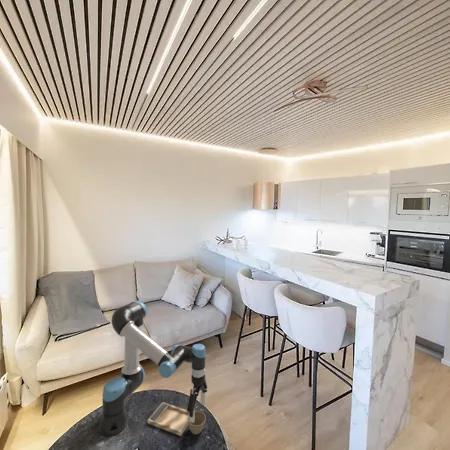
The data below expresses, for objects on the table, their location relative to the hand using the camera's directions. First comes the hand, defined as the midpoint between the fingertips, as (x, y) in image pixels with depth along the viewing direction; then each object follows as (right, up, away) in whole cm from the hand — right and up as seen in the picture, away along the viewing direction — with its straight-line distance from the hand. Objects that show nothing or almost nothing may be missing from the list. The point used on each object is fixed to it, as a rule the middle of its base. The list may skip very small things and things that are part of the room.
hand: (197, 412), depth 135 cm
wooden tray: (-16, -10, +7) cm, 20 cm away
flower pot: (-1, -11, 0) cm, 11 cm away
